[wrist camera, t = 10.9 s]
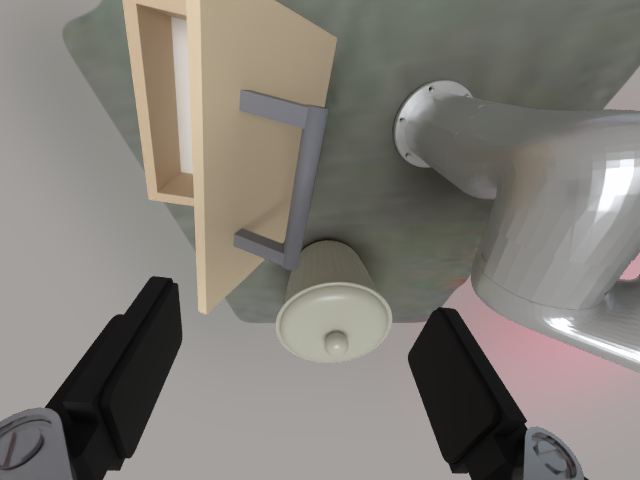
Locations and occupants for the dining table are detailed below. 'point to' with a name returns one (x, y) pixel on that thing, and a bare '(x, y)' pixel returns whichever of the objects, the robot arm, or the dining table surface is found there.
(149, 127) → the carton
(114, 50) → the dining table surface
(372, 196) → the dining table surface
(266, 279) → the dining table surface
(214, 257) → the carton lid
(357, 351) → the canister
